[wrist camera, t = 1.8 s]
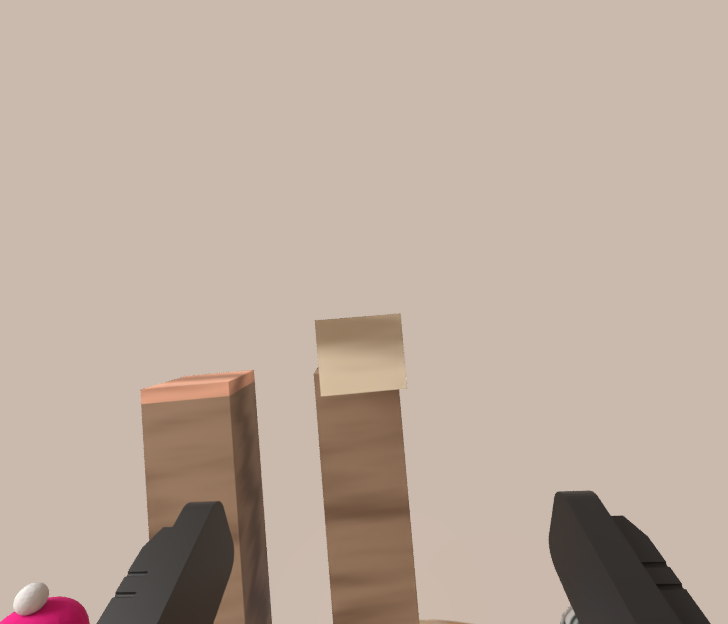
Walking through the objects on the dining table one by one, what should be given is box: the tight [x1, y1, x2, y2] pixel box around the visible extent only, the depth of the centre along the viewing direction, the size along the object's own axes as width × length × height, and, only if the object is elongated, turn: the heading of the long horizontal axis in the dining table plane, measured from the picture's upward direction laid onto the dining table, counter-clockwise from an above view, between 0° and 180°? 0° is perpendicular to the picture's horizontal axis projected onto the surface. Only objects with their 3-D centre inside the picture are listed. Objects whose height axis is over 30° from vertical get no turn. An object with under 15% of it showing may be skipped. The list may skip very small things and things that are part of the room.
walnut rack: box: [140, 367, 419, 624], centre depth 31 cm, size 9×19×32 cm, turn 94°
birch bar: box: [315, 314, 407, 397], centre depth 30 cm, size 24×4×4 cm, turn 4°
